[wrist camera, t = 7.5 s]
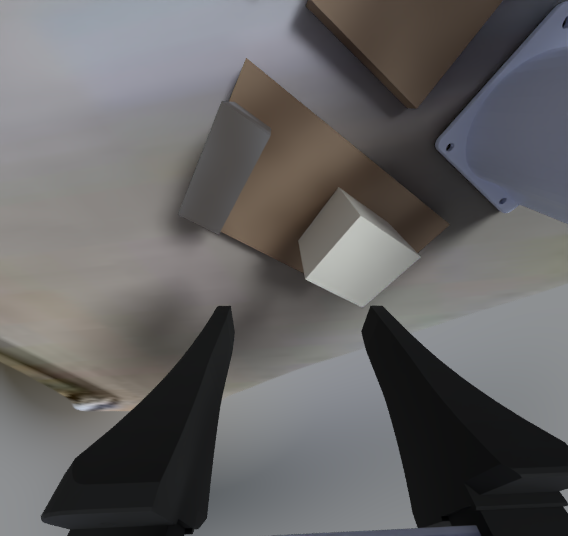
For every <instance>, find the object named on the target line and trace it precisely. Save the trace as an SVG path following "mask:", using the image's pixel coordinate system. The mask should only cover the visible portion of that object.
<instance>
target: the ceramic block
mask: <svg viewBox="0 0 568 536" xmlns="http://www.w3.org/2000/svg"><path fill="white" fill-rule="evenodd" d="M298 242H299V248H300V253H301V259H302V264H303V270H304V276H305V280H307V281H309V282H311V283H314V284H316V285H318V286H320V287H322V288H324V289H326V290H328V291H330V292H332V293H334V294H336V295H338V296H340V297H342V298H344V299H346V300H348V301H350V302H352V303H354V304H356V305H358V306H360V307H362V308H363V307H364V306H365V305H366V304H367V303H368V302H370V301H371V300H372V299H373V298H374V297H375V296H377V295H378V294H379V293H380V292H381V291H382V290H384V289H385V288H386V287H387V286H388V285H389V284H390V283H392V282H393V281H394V280H395V279H396V278H397V277H399V276H400V275H401V274H402V273H403V272H404V271H406V270H407V269H408V268H409V267H410V266H411V265H412V264H414V263H415V262H416V261H417V260H418V259H419V258H421V256H420V255H419V254H418V253H417V252H416V251H415V250H414V249H413V248H412V247H411V246H410V245H409V244H408V243H407V242H406V241H405V240H404V239H403V238H402V237H401V236H400V235H399V233H398V232H397V231H396V230H395V229H394V228H393V227H392V226H391V225H390V224H389V223H388V222H387V221H385V220H384V219H383V218H381V217H380V216H378V215H377V214H376V213H374V212H373V211H371V210H370V209H369V208H367V207H366V206H364V205H363V204H361V203H360V202H359V201H357V200H356V199H354V198H353V197H352V196H350V195H349V194H347V193H346V192H345V191H343V190H342V189H340V188H339V187H338V189H337V190H336V191H335V193H334V194H333V195H332V197H331V198H330V199H329V201H328V202H327V203H326V205H325V206H324V207H323V209H322V210H321V211H320V212H319V214H318V215H317V216H316V218H315V219H314V220H313V222H312V223H311V224H310V226H309V227H308V228H307V230H306V231H305V232H304V234H303V235H302V236H301V238H300V239H299V240H298Z"/></svg>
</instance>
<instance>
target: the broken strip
mask: <svg viewBox="0 0 568 536" xmlns="http://www.w3.org/2000/svg"><path fill="white" fill-rule="evenodd" d="M502 1H503V0H308V1H307V4H306V7H307V8H308V9H309V10H310V11H311V12H312V13H313V14H314V15H315V16H316V17H317V18H318V19H319V20H320V21H321V22H322V23H323V24H324V25H325V26H326V27H327V28H328V29H329V30H330V31H331V32H332V33H333V34H334V35H335V36H336V37H337V38H338V39H339V40H340V41H341V42H342V43H343V44H344V45H345V46H346V47H347V48H348V49H349V50H350V51H351V52H352V53H353V54H354V55H355V56H356V57H357V58H358V59H359V60H360V61H361V62H362V63H363V64H364V65H365V66H366V67H367V68H368V69H369V70H370V71H371V72H372V73H373V74H374V75H375V76H376V77H377V78H378V79H379V80H380V81H381V82H382V83H383V84H384V85H385V86H386V87H387V88H388V89H389V90H390V91H391V92H392V94H393V95H394V96H395V97H396V98H397V99H398V100H399V101H400V102H401V103H402V104H403V105H404V106H405V107H406V108H412V109H417V108H418V107H419V105H420V104H421V103H422V102H423V100H424V99H425V98H426V97H427V95H428V94H429V93H430V92H431V90H432V89H433V88H434V87H435V85H436V84H437V83H438V81H439V80H440V79H441V78H442V76H443V75H444V74H445V73H446V71H447V70H448V69H449V68H450V66H451V65H452V64H453V63H454V61H455V60H456V59H457V58H458V56H459V55H460V54H461V53H462V51H463V50H464V49H465V48H466V46H467V45H468V44H469V42H470V41H471V40H472V39H473V37H474V36H475V35H476V34H477V32H478V31H479V30H480V29H481V27H482V26H483V25H484V24H485V22H486V21H487V20H488V19H489V17H490V16H491V15H492V14H493V12H494V11H495V10H496V9H497V7H498V6H499V5H500V3H501V2H502Z"/></svg>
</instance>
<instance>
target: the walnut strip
mask: <svg viewBox="0 0 568 536" xmlns="http://www.w3.org/2000/svg"><path fill="white" fill-rule="evenodd" d="M338 187H339V188H340V189H342V190H343V191H345V192H346V193H347V194H349V195H350V196H352V197H353V198H354V199H356V200H357V201H359V202H360V203H361V204H363V205H364V206H366V207H367V208H369V209H370V210H371V211H373V212H374V213H376V214H377V215H378V216H380V217H381V218H383V219H384V220H385V221H387V222H388V223H389V224H390V225H391V226H392V227H393V228H394V229H395V230H396V231H397V232H398V233H399V235H400V236H401V237H402V238H403V239H404V240H405V241H406V242H407V243H408V244H409V245H410V246H411V247H412V248H413V249H414V250H415V251H416V252H417V253H418V252H419V251H421V250H422V249H423V248H424V247H425V246H426V245H427V244H429V243H430V242H431V241H432V240H433V239H434V238H435V237H436V236H438V235H439V234H440V233H441V232H442V231H443V230H444V229H446V228H447V227H448V226H449V225H450V224H449V223H447V222H446V221H445V220H444V219H443V218H441V217H440V216H439V215H438V214H436V213H435V212H434V211H433V210H432V209H430V208H429V207H428V206H427V205H425V204H424V203H423V202H422V201H421V200H419V199H418V198H417V197H416V196H414V195H413V194H412V193H411V192H410V191H408V190H407V189H406V188H405V187H403V186H402V185H401V184H400V183H399V182H397V181H396V180H395V179H394V178H392V177H391V176H390V175H389V174H388V173H386V172H385V171H384V170H383V169H381V168H380V167H379V166H378V165H377V164H375V163H374V162H373V161H372V160H370V159H369V158H368V157H367V156H366V155H364V154H363V153H362V152H361V151H359V150H358V149H357V148H356V147H355V146H353V145H352V144H351V143H350V142H348V141H347V140H346V139H345V138H344V137H342V136H341V135H340V134H339V133H337V132H336V131H335V130H334V129H332V128H331V127H330V126H329V125H328V124H326V123H325V122H324V121H323V120H321V119H320V118H319V117H318V116H317V115H315V114H314V113H313V112H312V111H310V110H309V109H308V108H307V107H306V106H304V105H303V104H302V103H301V102H299V101H298V100H297V99H296V98H295V97H293V96H292V95H291V94H290V93H288V92H287V91H286V90H285V89H284V88H282V87H281V86H280V85H279V84H277V83H276V82H275V81H274V80H273V79H271V78H270V77H269V76H268V75H266V74H265V73H264V72H263V71H262V70H260V69H259V68H258V67H257V66H255V65H254V64H253V63H252V62H251V61H249V60H248V59H247V58H246V60H245V62H244V65H243V67H242V70H241V72H240V75H239V77H238V80H237V82H236V85H235V87H234V90H233V92H232V95H231V97H230V100H229V102H228V101H222V102H221V105H220V107H219V110H218V112H217V115H216V118H215V120H214V123H213V125H212V128H211V130H210V133H209V136H208V138H207V141H206V143H205V146H204V149H203V151H202V154H201V156H200V159H199V161H198V164H197V167H196V169H195V172H194V174H193V177H192V180H191V182H190V185H189V187H188V190H187V192H186V195H185V198H184V200H183V203H182V205H181V208H180V210H179V213H178V215H179V216H181V217H183V218H185V219H187V220H189V221H191V222H193V223H195V224H197V225H199V226H201V227H203V228H206V229H208V230H210V231H212V232H214V233H216V234H218V235H219V233H220V232H222V233H224V234H226V235H228V236H230V237H232V238H234V239H236V240H238V241H240V242H242V243H244V244H246V245H248V246H250V247H252V248H254V249H256V250H258V251H260V252H262V253H264V254H266V255H268V256H270V257H272V258H274V259H276V260H278V261H280V262H282V263H284V264H286V265H288V266H290V267H292V268H294V269H296V270H298V271H300V272H302V273H304V270H303V264H302V259H301V253H300V248H299V242H298V240H299V239H300V238H301V236H302V235H303V234H304V232H305V231H306V230H307V228H308V227H309V226H310V224H311V223H312V222H313V220H314V219H315V218H316V216H317V215H318V214H319V212H320V211H321V210H322V209H323V207H324V206H325V205H326V203H327V202H328V201H329V199H330V198H331V197H332V195H333V194H334V193H335V191H336V190H337V189H338Z"/></svg>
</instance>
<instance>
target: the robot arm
mask: <svg viewBox="0 0 568 536" xmlns="http://www.w3.org/2000/svg"><path fill="white" fill-rule="evenodd" d="M565 18H566V23H565V25H564V26H563V28H562V24H563V21H564V20H565ZM449 144H451V146H450V148H449V149H448V150H446V147H447V146H448V145H449ZM435 148H436V149H437V150H438V151H439V152H440V153H441V154H442V155H443V156H444V157H445V158H446V159H447V160H448V161H449V162H450V163H451V164H452V165H453V166H454V167H455V168H456V169H457V170H458V171H459V172H460V173H461V174H462V175H463V176H464V177H465V178H466V179H467V180H468V181H469V182H471V183H472V184H473V185H474V186H475V187H476V188H477V189H478V190H479V191H480V192H481V193H482V194H483V195H484V196H485V197H486V198H487V199H488V200H489V201H490V202H491V203H492V204H493V205H494V206H495V207H496V208H497V209H498V210H499V211H501V212H503V213H508V212H510V211H512V210H513V209H515V208H516V207H517V206H518V205H522V206H525V207H527V208H530V209H532V210H534V211H537V212H539V213H542V214H544V215H547V216H549V217H552V218H554V219H557V220H559V221H561V222H564V223H566V224H568V1H565V2H562V3H560V4H558V5H557V6H556V7H555V8H553V10H552V11H551V12H550V13H549V14H548V15H547V16H546V17H545V19H544V20H543V21H542V22H541V23H540V24H539V25H538V26H537V28H536V29H535V30H534V31H533V32H532V33H531V34H530V35H529V36H528V38H527V39H526V40H525V41H524V42H523V43H522V44H521V45H520V47H519V48H518V49H517V50H516V51H515V52H514V53H513V54H512V56H511V57H510V58H509V59H508V60H507V61H506V62H505V63H504V64H503V66H502V67H501V68H500V69H499V70H498V71H497V72H496V73H495V75H494V76H493V77H492V78H491V79H490V80H489V81H488V82H487V84H486V85H485V86H484V87H483V88H482V89H481V90H480V91H479V93H478V94H477V95H476V96H475V97H474V98H473V99H472V100H471V101H470V103H469V104H468V105H467V106H466V107H465V108H464V109H463V110H462V112H461V113H460V114H459V115H458V116H457V117H456V118H455V119H454V121H453V122H452V123H451V124H450V125H449V126H448V127H447V128H446V130H445V131H444V132H443V133H442V134H441V135H440V136H439V137H438V139H437V140H436V143H435ZM501 199H502V200H501ZM500 200H501V201H500ZM361 332H362V336H363V340H364V344H365V348H366V351H367V354H368V356H369V359H370V362H371V364H372V367H373V369H374V371H375V374H376V377H377V379H378V382H379V385H380V387H381V390H382V392H383V395H384V397H385V401H386V404H387V407H388V411H389V414H390V418H391V421H392V424H393V428H394V432H395V436H396V440H397V443H398V447H399V451H400V455H401V460H402V464H403V468H404V473H405V478H406V482H407V487H408V492H409V497H410V501H411V507H412V512H413V515H414V518H415V521H416V524H417V527H418V528H411V529H392V530H372V531H352V532H332V533H312V534H294V535H293V534H292V535H273V536H568V513H567V512H566V510H565V509H564V507H563V506H567V505H568V503H567V501H566V500H565V498H564V497H563V496H562V494H561V493H560V492H559V491H561V490H564V489H568V445H567V444H566V443H565V442H563V441H561V440H560V439H558V438H556V437H554V436H553V435H551V434H549V433H548V432H546V431H544V430H542V429H540V428H539V427H537V426H535V425H534V424H532V423H530V422H528V421H527V420H525V419H523V418H522V417H520V416H518V415H516V414H515V413H514V412H512V411H511V410H509V409H507V408H505V407H504V406H502V405H501V404H499V403H498V402H496V401H495V400H493V399H492V398H490V397H489V396H487V395H486V394H484V393H483V392H481V391H480V390H479V389H477V388H476V387H474V386H473V385H471V384H470V383H469V382H467V381H466V380H465V379H463V378H462V377H460V376H459V375H458V374H457V373H456V372H454V371H453V370H452V369H450V368H449V367H448V366H447V365H445V364H444V363H443V362H442V361H440V360H439V359H438V358H437V357H436V356H435V355H433V354H432V353H431V352H430V351H429V350H428V349H426V348H425V347H424V346H423V345H422V344H421V343H420V342H419V341H418V340H417V339H416V338H414V337H413V336H412V335H411V334H410V333H409V332H408V331H407V330H406V329H405V328H404V327H403V326H402V325H401V324H400V323H399V322H398V321H397V320H396V319H395V318H394V317H393V316H392V315H391V314H390V313H389V312H388V311H387V310H386V309H385V308H384V307H383V306H370V309H369V312H368V314H367V317H366V320H365V323H364V325H363V328H362V331H361ZM234 333H235V331H234V325H233V318H232V311H231V306H218V307H217V308H216V310H215V311H214V313H213V315H212V316H211V318H210V320H209V321H208V323H207V324H206V326H205V327H204V329H203V330H202V332H201V333H200V334H199V336H198V337H197V339H196V340H195V341H194V343H193V344H192V345H191V347H190V348H189V349H188V351H187V352H186V353H185V354H184V356H183V357H182V358H181V359H180V361H179V362H178V363H177V364H176V365H175V367H174V368H173V369H172V370H171V371H170V372H169V373H168V374H167V376H166V377H165V378H164V379H163V380H162V381H161V382H160V383H159V384H158V385H157V386H156V387H155V388H154V389H153V390H152V391H151V392H150V393H149V394H148V395H147V396H146V397H145V398H144V399H143V400H142V401H141V402H140V403H139V404H138V405H137V406H136V407H135V408H134V409H133V410H131V411H130V412H129V413H128V414H127V415H126V416H125V417H124V418H123V419H122V420H120V421H119V422H118V423H117V424H116V425H115V426H114V427H113V428H111V429H110V430H109V431H108V432H107V433H105V434H104V435H103V436H102V437H101V438H99V439H98V440H97V441H96V442H95V443H93V444H92V445H91V446H90V447H89V448H87V449H86V450H85V451H84V452H82V453H81V454H80V455H79V456H78V457H77V458H75V460H74V461H73V463H72V464H71V466H70V467H69V469H68V470H67V472H66V473H65V475H64V476H63V478H62V480H61V482H60V483H59V485H58V487H57V489H56V490H55V492H54V494H53V496H52V497H51V499H50V501H49V503H48V505H47V506H46V509H45V510H44V512H43V514H42V516H41V520H42V521H43V522H44V523H47V524H50V525H54V526H59V527H62V528H67V529H70V531H69V533H68V535H67V536H184V534H193V532H194V529H198V528H199V527H200V526H201V525H202V524H203V522H204V521H205V520H206V518H207V511H208V502H209V493H210V483H211V474H212V465H213V457H214V449H215V441H216V433H217V426H218V419H219V411H220V405H221V400H222V395H223V390H224V386H225V382H226V377H227V373H228V369H229V364H230V360H231V355H232V350H233V342H234Z"/></svg>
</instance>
